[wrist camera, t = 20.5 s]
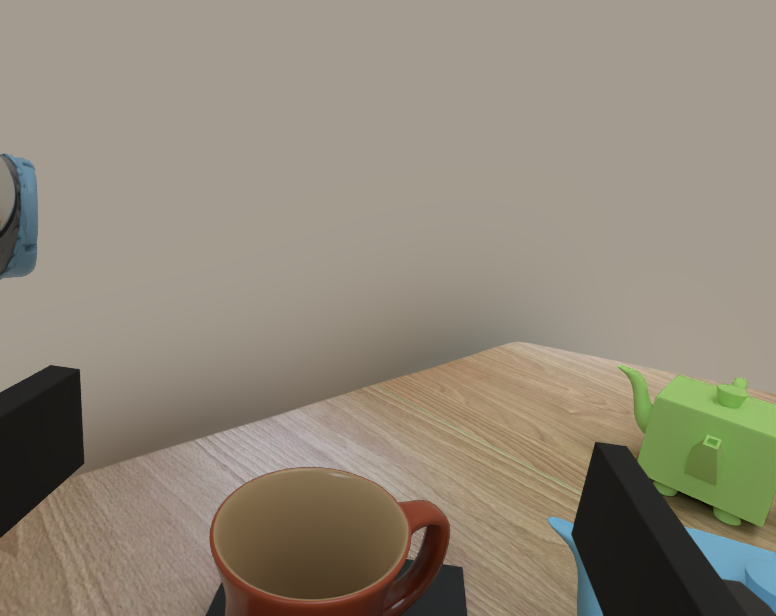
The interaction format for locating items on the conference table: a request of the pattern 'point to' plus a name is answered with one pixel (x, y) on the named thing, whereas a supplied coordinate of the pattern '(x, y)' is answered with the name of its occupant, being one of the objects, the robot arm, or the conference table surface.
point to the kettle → (709, 445)
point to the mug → (323, 546)
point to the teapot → (728, 557)
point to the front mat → (430, 612)
